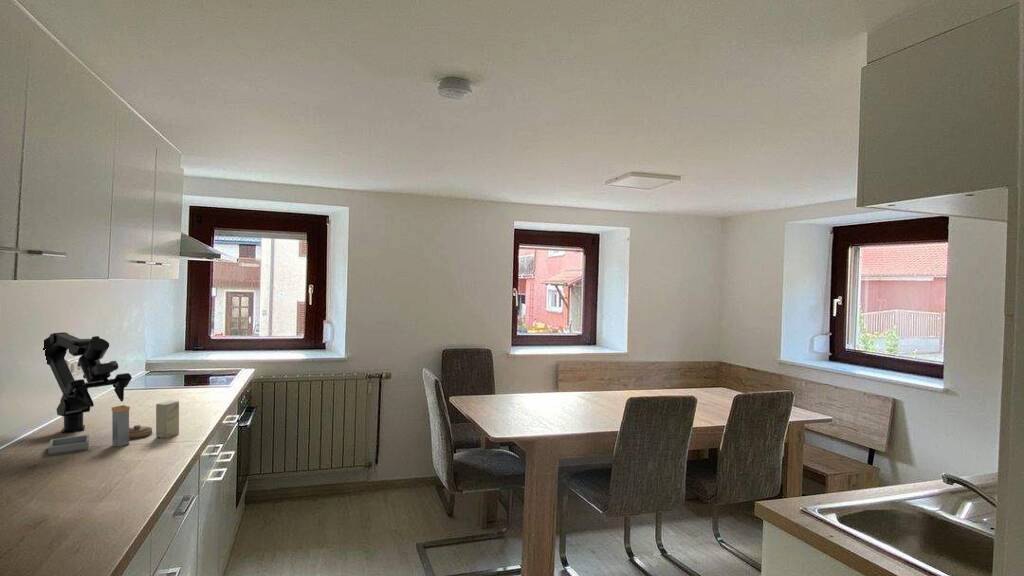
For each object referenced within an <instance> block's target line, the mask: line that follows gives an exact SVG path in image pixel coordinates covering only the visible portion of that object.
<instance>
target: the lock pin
mask: <svg viewBox="0 0 1024 576" xmlns="http://www.w3.org/2000/svg"><path fill="white" fill-rule="evenodd" d="M130 407H131V406H129V405H119V406H118V405H117V406H113V407H111V411H112V413H111V415H112V416H111V417H112V419H111V420H112V421H111V423H112V425H111V426H112V431H111V433H112V434H111V435H112V438H111V439H112V444H111V445H112V446H113V445H114V446H113V447H116V446H117V448H119V447H118V446H121V447H124V446H123V445H125V446H128V445H127V444H129V445H130V439H129V428H130V410H131V408H130Z"/></svg>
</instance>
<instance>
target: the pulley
mask: <svg viewBox="0 0 1024 576" xmlns="http://www.w3.org/2000/svg"><path fill="white" fill-rule="evenodd" d="M149 435H150V436H151V435H153V427H151V426H145V425H140V424H135V425H133V427H129V440H134V439H135V440H136V438H138V439H143V438H147V437H149ZM146 436H147V437H146ZM142 437H143V438H142Z"/></svg>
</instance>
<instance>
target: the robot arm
mask: <svg viewBox="0 0 1024 576" xmlns="http://www.w3.org/2000/svg"><path fill="white" fill-rule="evenodd" d="M43 340H44V348H43V350H45V349H46V350H45V356H46V360H47V364H46V365H48V366H49V367H50V370H51V371H52V373H53V375H54V379H55V380H56V382H57V384H58V386H59V388H60V390H61V393H62V395H61V398H60V402H59V404H58V406H57V408H56V414H57V416H60V417H63V428H62V430H61V433H63V434H65V433H72V432H80V431H85V430H86V429H85V427H86V425H85V424H84V413H89V412H90V410H91V408H93V407H94V405H95V404H94V401H93V399H92V398H91V395H90V393H89V391H88V390H89V389H91V388H102V387H106V386H113V388H114V389H113V391H114V393H115V394H116V396H117V397H118V399H119V400H120V402H124V399H125V398H124V396H125V392H124V391H125V388H127V387H128V385H129V384H130V382H131V381H132V379H133V377H132V376H131V375H132V374H130V373H129V372H126V373H125V372H124V373H118V374H116V375H115V377H114V378H111V379H110V377H111V373H114V372H115V371H116V370H118V369H119V363H118V361H117V360H111V361H110V362H103V363H101V360H102V359H103V358H104V357H105V354H106V353H107V351H108V349H109V348H110V343H109V341H107V340H105V339H104V338H100V336H99V335H97V336H95V335H94V336H92V337H91V338H79V337H77V336H74V335H71V334H69V333H68V332H64V331H63V332H53V333H50V334H49V336H48V337H46V338H45V339H43ZM67 352H68V353H69V355H72V356H73V357H78V356H79V358H78V360H77V361H78V362H77V367H80V369H81V370H82V374H83V376H82V378H83V379H75V378H74V376H73V373H72V372H71V369H70V368H69V365H68V364H67V362H66V359H65V357H66V355H67ZM85 380H86V381H85Z"/></svg>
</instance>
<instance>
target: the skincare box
mask: <svg viewBox="0 0 1024 576" xmlns="http://www.w3.org/2000/svg"><path fill="white" fill-rule="evenodd" d="M155 430H156V431H155V437H156V438H158V437H160V438H161V439H167V438H170V437H174V436H176V435H179V434H180V401H179V400H166V401H163V402H159V403H155ZM160 438H159V439H160Z"/></svg>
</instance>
